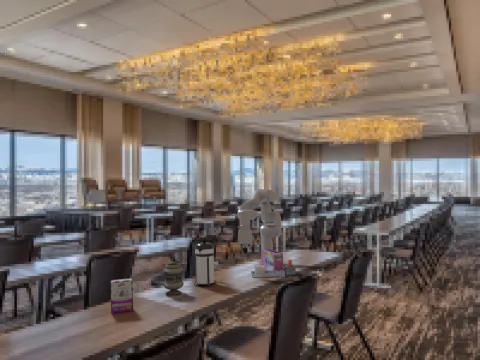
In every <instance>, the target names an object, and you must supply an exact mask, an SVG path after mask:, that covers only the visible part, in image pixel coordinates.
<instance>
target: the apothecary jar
mask: <svg viewBox="0 0 480 360" xmlns="http://www.w3.org/2000/svg"><path fill="white" fill-rule="evenodd" d="M162 271H163V273H164V275H165V277H164V278H165V281H164V282H163V287H164V288H165V289H166V290H167V291H166V292H165V296H170V297H171V296H172V297H175V296H180V295H182V294H183V292H182V291H181V290H179V289H181V288H183V286H184V284H185V283H184V281H183V280H182V273H183V271H184V268H183V267H182V266H181V263H180V262H169V263H166V264H165V267H164V268H163V270H162Z"/></svg>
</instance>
